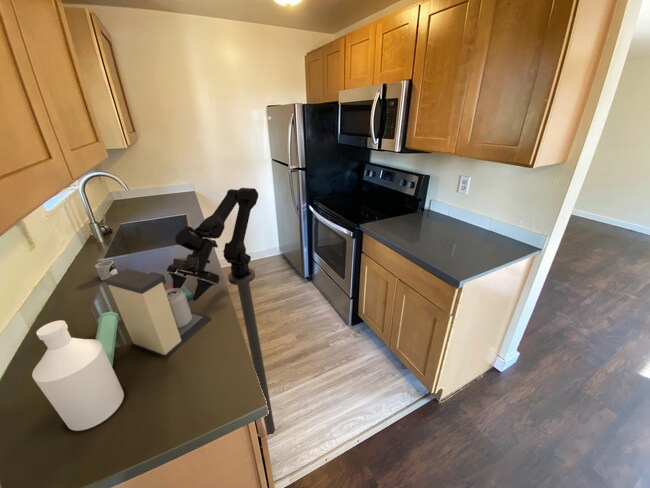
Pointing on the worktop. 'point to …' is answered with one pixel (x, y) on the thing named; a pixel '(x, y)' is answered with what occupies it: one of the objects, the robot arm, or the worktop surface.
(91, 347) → the bottle
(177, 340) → the coffee maker
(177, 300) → the can
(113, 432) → the worktop surface
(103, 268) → the mug
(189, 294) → the control block
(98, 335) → the container
